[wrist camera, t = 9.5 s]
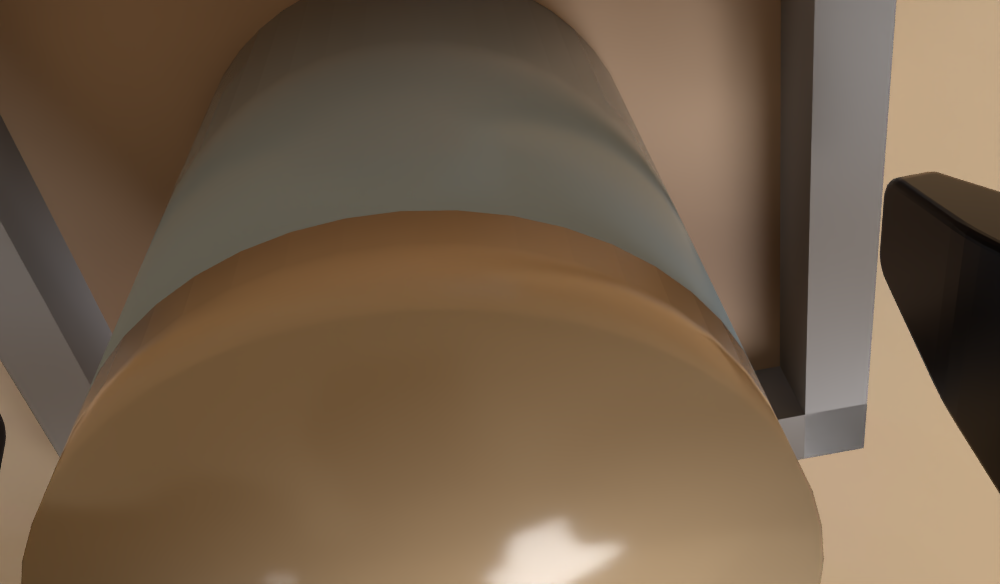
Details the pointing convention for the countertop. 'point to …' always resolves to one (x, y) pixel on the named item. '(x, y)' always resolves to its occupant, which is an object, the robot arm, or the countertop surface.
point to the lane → (643, 87)
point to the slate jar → (423, 337)
